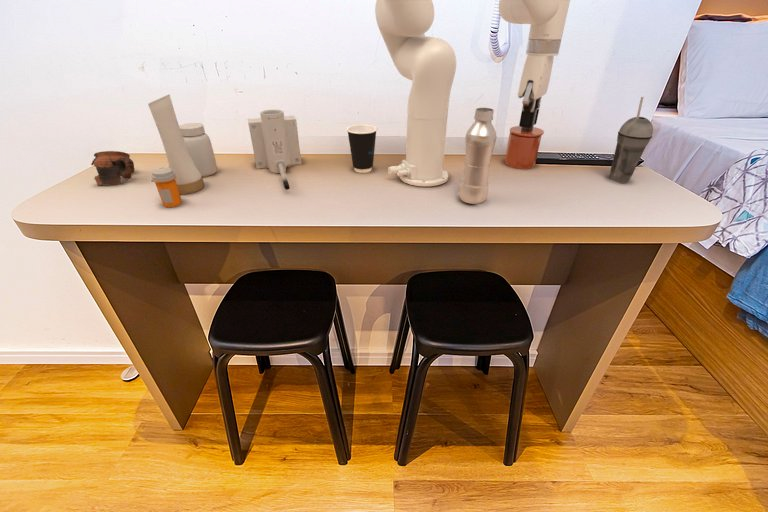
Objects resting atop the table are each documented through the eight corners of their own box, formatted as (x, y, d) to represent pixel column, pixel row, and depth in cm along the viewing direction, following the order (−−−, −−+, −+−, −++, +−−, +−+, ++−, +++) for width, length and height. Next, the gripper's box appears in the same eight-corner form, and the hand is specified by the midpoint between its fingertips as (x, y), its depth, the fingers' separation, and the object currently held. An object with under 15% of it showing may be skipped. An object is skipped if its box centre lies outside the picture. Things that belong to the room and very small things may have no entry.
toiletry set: (194, 168, 105) (171, 87, 94) (222, 167, 105) (202, 86, 94) (150, 208, 84) (115, 110, 73) (185, 208, 84) (155, 110, 73)
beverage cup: (639, 186, 95) (672, 101, 84) (607, 184, 96) (636, 99, 86) (629, 175, 101) (659, 94, 90) (599, 173, 102) (625, 93, 92)
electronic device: (299, 158, 112) (292, 104, 104) (314, 192, 92) (307, 128, 83) (255, 162, 109) (245, 107, 101) (261, 199, 88) (249, 133, 80)
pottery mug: (85, 187, 95) (80, 153, 94) (122, 190, 104) (118, 159, 103) (119, 180, 91) (114, 145, 90) (155, 184, 100) (151, 151, 99)
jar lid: (524, 140, 99) (529, 114, 96) (502, 132, 106) (506, 107, 102) (550, 136, 102) (556, 110, 99) (527, 128, 109) (532, 104, 106)
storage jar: (518, 170, 104) (524, 139, 100) (498, 161, 110) (503, 131, 106) (541, 166, 107) (548, 135, 102) (520, 157, 113) (526, 128, 109)
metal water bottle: (488, 197, 90) (502, 107, 79) (484, 209, 84) (499, 114, 73) (460, 193, 91) (471, 104, 80) (455, 205, 86) (465, 112, 75)
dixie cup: (380, 173, 102) (380, 131, 96) (350, 176, 101) (349, 133, 95) (374, 163, 109) (373, 123, 103) (346, 165, 107) (344, 125, 101)
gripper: (537, 44, 100) (523, 117, 110) (516, 49, 89) (502, 130, 99) (567, 46, 97) (550, 121, 107) (549, 51, 86) (532, 134, 96)
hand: (527, 124), depth 103 cm, fingers closed on jar lid, 3 cm apart
